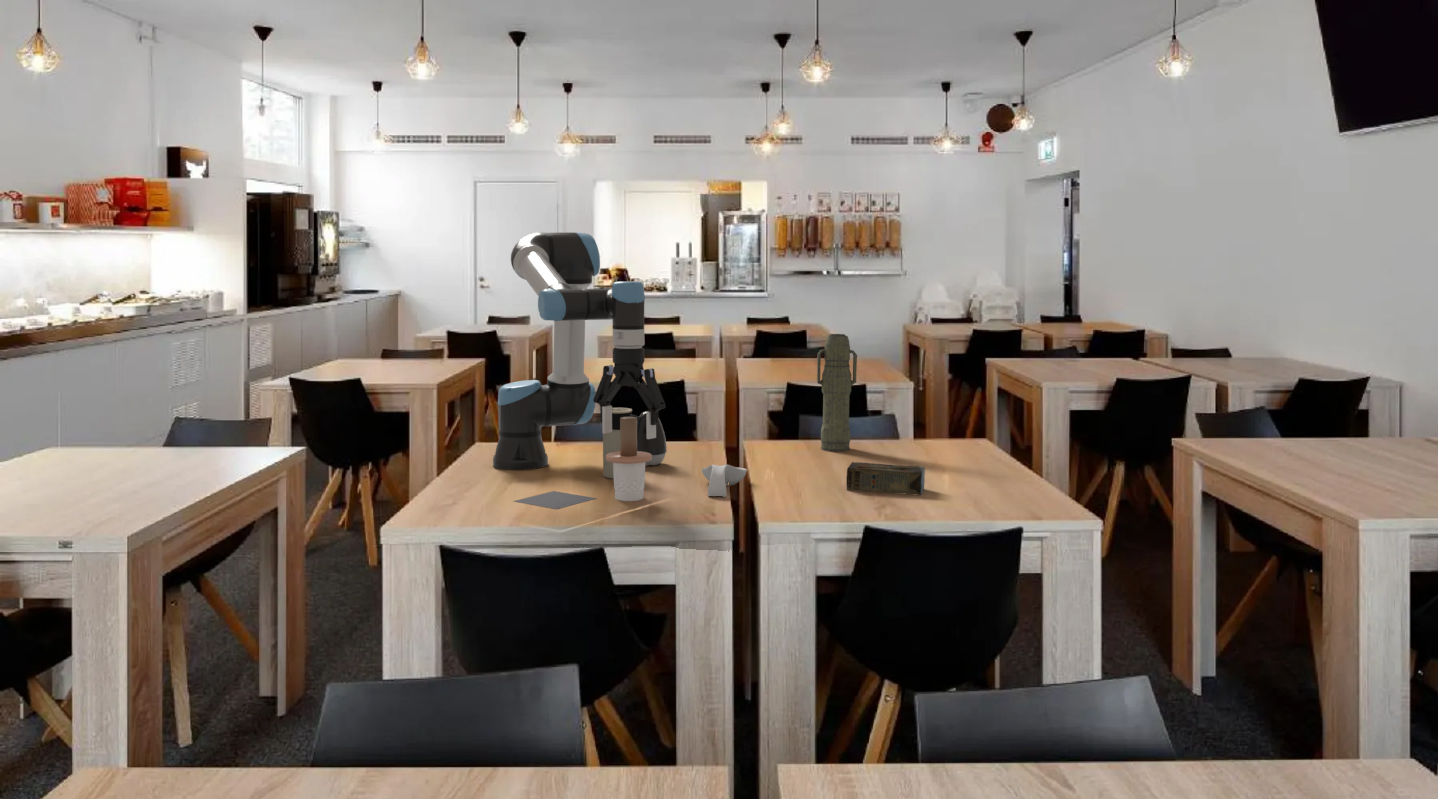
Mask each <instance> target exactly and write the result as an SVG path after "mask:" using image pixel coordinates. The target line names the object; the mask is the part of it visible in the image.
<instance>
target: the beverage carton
mask: <svg viewBox="0 0 1438 799" xmlns="http://www.w3.org/2000/svg"><path fill="white" fill-rule="evenodd" d="M925 475H926V468H925V467H924V466H922V465H899V464H898V465H897V464H888V463H887V464H886V463H873V462H860V461H859V462H857V461H856V462H854V461H852V462H851V464H849V466H848V467H847V469H846V491H853V492H854V491H855V492H865V493H866V492H868V493H869V492H870V493H882V494H885V493H886V494H896V493H906V494H905V495H913V494H917V495H916V496H922V493H923V491H924V489H925V479H926V478H925Z"/></svg>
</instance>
